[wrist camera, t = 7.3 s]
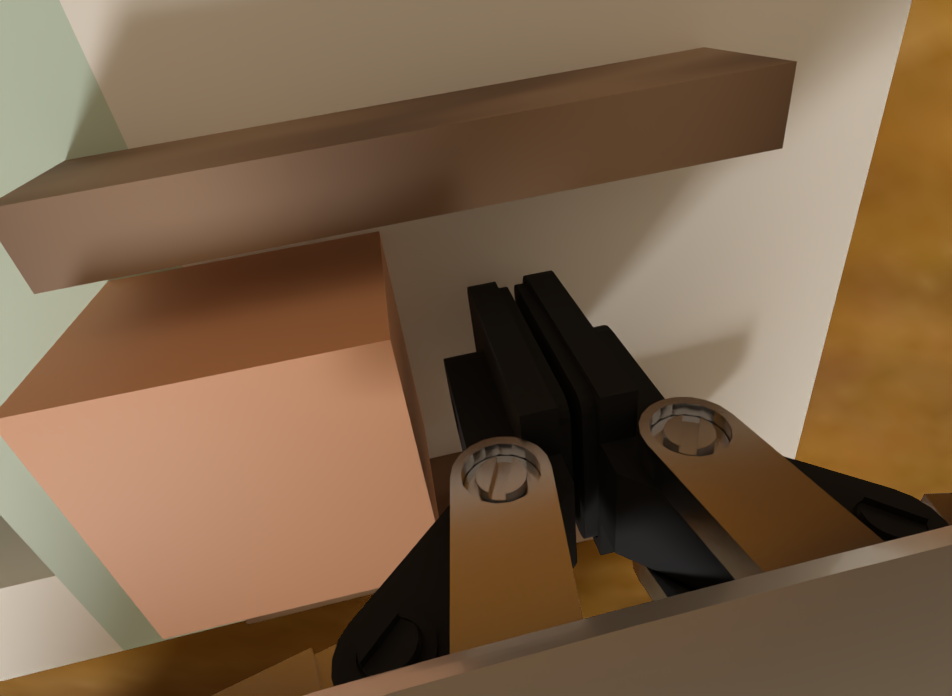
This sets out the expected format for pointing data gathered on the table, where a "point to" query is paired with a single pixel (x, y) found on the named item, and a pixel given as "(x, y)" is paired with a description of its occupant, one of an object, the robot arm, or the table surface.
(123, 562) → the block
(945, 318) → the table surface
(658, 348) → the deck
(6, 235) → the channel walls
